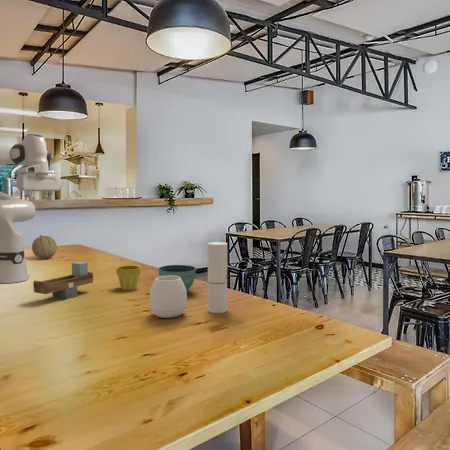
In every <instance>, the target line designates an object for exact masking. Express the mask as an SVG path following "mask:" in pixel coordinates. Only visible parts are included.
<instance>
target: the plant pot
mask: <svg viewBox="0 0 450 450" xmlns="http://www.w3.org/2000/svg"><path fill="white" fill-rule="evenodd" d="M116 276H117V277H118V281H119V285H120V290H122V291H134V290H137V287H138V281H139V276H141V266H140V265H134V264H133V265H130V264H128V265H119V266H117V267H116Z"/></svg>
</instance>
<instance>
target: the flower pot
mask: <svg viewBox="0 0 450 450" xmlns="http://www.w3.org/2000/svg"><path fill="white" fill-rule="evenodd" d="M157 270H158V275H159V276H158V277H160V276H168V275H170V276H178V277H180V278H181V280H182V281H183V283H184V285H185V288H186V292H187V294H188V293H189V290H190V289H191V287H192V285H193V284H194V282H195V277H196V271H197V267H196V266H194V265H187V264H186V265H185V264H170V265H163V266H160V267H158V268H157Z"/></svg>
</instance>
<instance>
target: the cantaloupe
mask: <svg viewBox="0 0 450 450" xmlns="http://www.w3.org/2000/svg"><path fill="white" fill-rule="evenodd" d="M57 247H58V245H57V242H56V241H55V239H54V238H53V237H51V236H48V235H42V234H39V236H38V237H36V238H35V239H34V240H33V242H32V243H31V250H32V253H33V255H34V256H35V257H36V258H38V259H41V260H48V259H50V258H51V257H53V256H55V254H56V253H57V251H58V250H57V249H58V248H57Z"/></svg>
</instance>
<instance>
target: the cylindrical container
mask: <svg viewBox="0 0 450 450" xmlns="http://www.w3.org/2000/svg"><path fill="white" fill-rule="evenodd" d="M227 311H228V242H222V241H221V242H220V241H215V242H214V241H213V242H211V241H210V242H208V243H207V312H209V313H212V314H223V313H226V312H227Z"/></svg>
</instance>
